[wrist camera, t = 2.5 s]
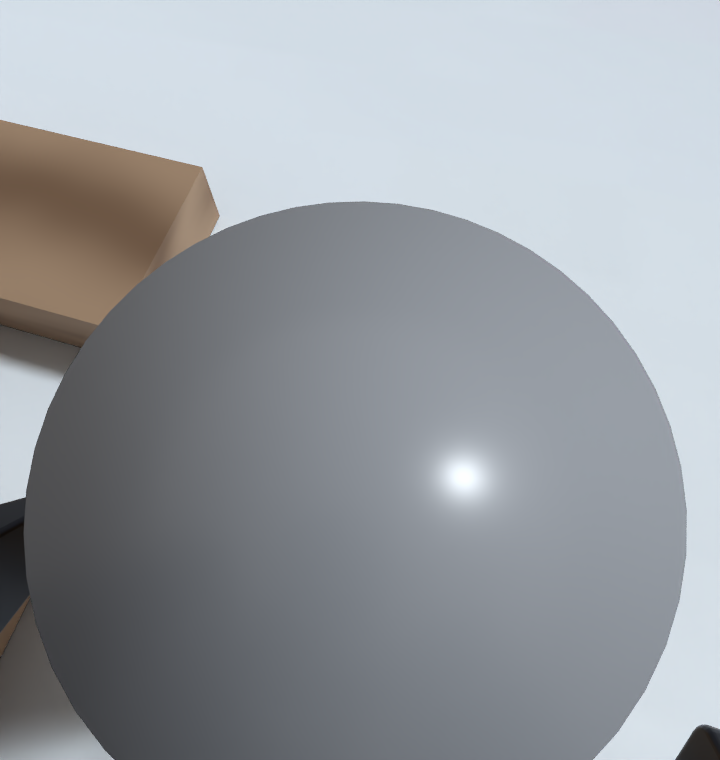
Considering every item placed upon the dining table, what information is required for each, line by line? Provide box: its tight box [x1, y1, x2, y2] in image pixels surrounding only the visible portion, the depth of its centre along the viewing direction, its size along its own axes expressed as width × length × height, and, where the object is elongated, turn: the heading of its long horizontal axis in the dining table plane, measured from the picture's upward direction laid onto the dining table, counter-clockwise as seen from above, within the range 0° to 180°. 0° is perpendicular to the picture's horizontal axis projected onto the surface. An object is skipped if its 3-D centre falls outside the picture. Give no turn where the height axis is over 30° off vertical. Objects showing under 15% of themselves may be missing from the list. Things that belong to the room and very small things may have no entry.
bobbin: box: [24, 202, 687, 760], centre depth 11 cm, size 6×6×13 cm
